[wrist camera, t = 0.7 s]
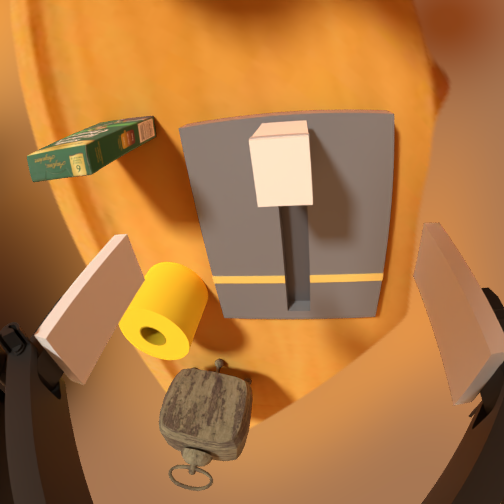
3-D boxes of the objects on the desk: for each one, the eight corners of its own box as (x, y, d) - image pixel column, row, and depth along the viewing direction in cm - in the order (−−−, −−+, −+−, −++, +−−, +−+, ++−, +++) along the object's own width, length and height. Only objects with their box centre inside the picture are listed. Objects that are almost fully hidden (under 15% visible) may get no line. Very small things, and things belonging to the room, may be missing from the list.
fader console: (187, 124, 29) (177, 128, 27) (387, 110, 25) (394, 114, 23) (227, 305, 43) (223, 318, 41) (372, 304, 39) (375, 317, 37)
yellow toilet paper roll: (173, 250, 39) (145, 297, 32) (222, 298, 43) (205, 349, 35) (134, 279, 44) (106, 322, 36) (178, 320, 47) (159, 365, 40)
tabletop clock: (186, 370, 56) (149, 480, 36) (181, 344, 51) (134, 468, 31) (257, 383, 55) (234, 501, 34) (260, 358, 50) (234, 495, 29)
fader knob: (264, 118, 27) (247, 140, 19) (306, 115, 27) (309, 135, 18) (270, 166, 30) (257, 207, 22) (310, 164, 29) (313, 205, 21)
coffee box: (157, 113, 29) (84, 143, 18) (159, 137, 31) (90, 178, 20) (100, 121, 30) (23, 155, 19) (103, 142, 32) (30, 183, 21)
